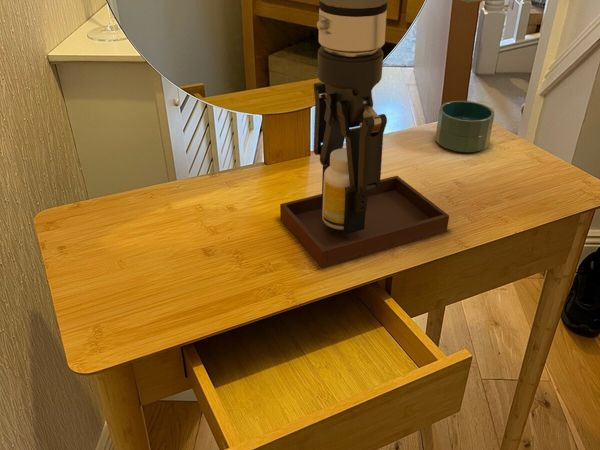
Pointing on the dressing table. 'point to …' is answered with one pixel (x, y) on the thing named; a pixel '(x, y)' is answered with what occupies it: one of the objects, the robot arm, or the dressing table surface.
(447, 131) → the cup
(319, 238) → the tray
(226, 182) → the dressing table surface
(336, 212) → the supplement bottle
